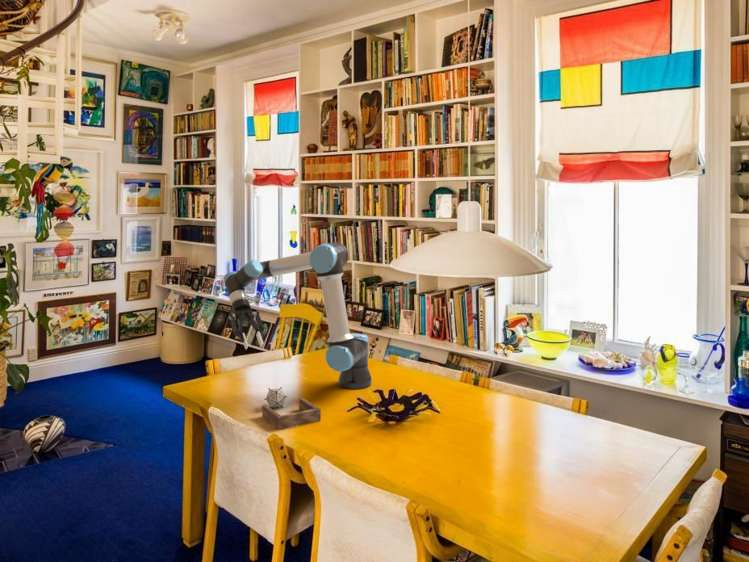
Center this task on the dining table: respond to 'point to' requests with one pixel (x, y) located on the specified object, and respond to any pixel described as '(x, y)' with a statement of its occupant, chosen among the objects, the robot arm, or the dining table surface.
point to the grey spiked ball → (275, 398)
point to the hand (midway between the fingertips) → (254, 346)
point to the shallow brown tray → (293, 415)
